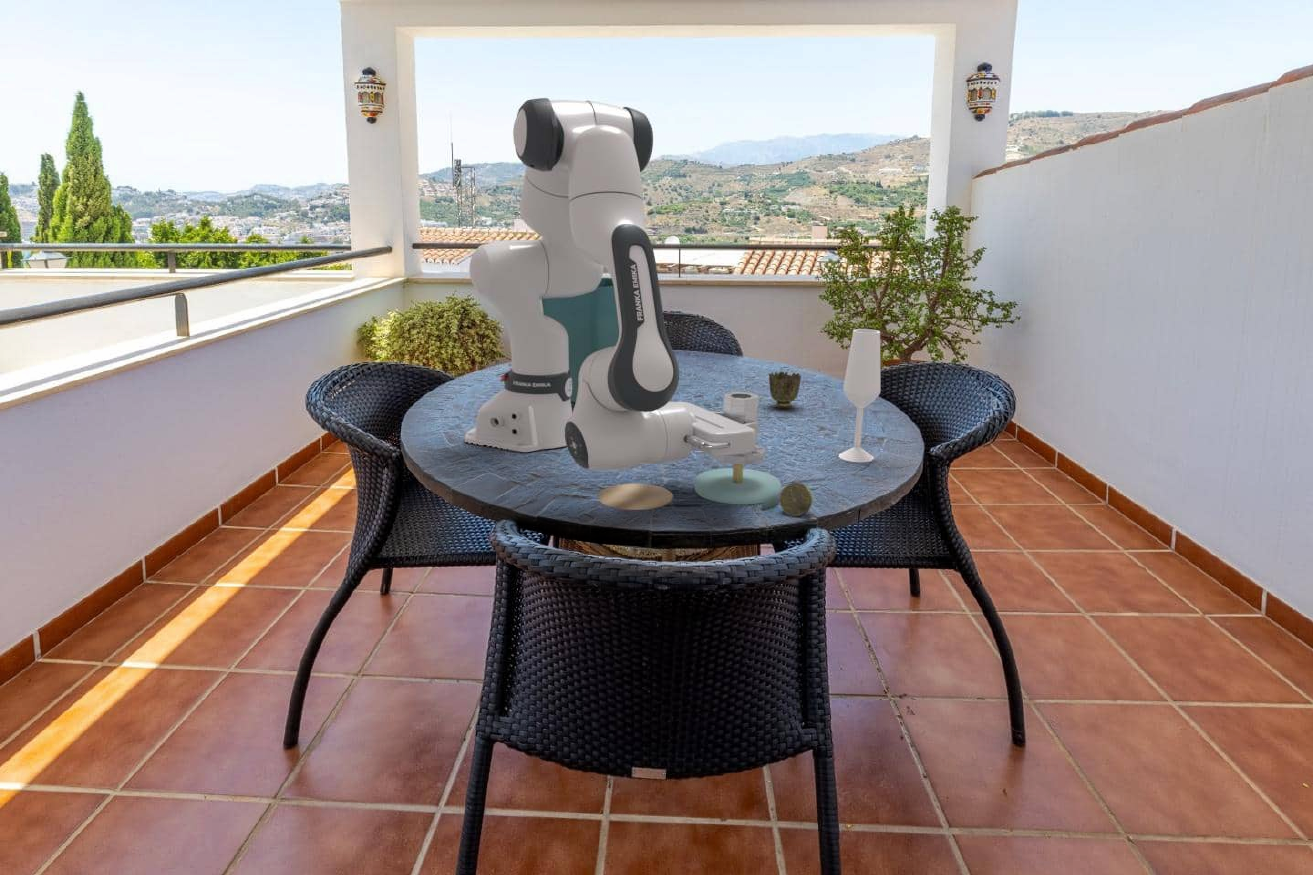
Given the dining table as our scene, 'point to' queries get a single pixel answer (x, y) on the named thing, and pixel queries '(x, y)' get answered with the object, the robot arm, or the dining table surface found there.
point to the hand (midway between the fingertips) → (744, 422)
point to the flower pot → (586, 324)
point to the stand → (635, 496)
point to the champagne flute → (862, 383)
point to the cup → (784, 388)
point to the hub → (739, 486)
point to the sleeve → (741, 411)
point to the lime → (796, 499)
